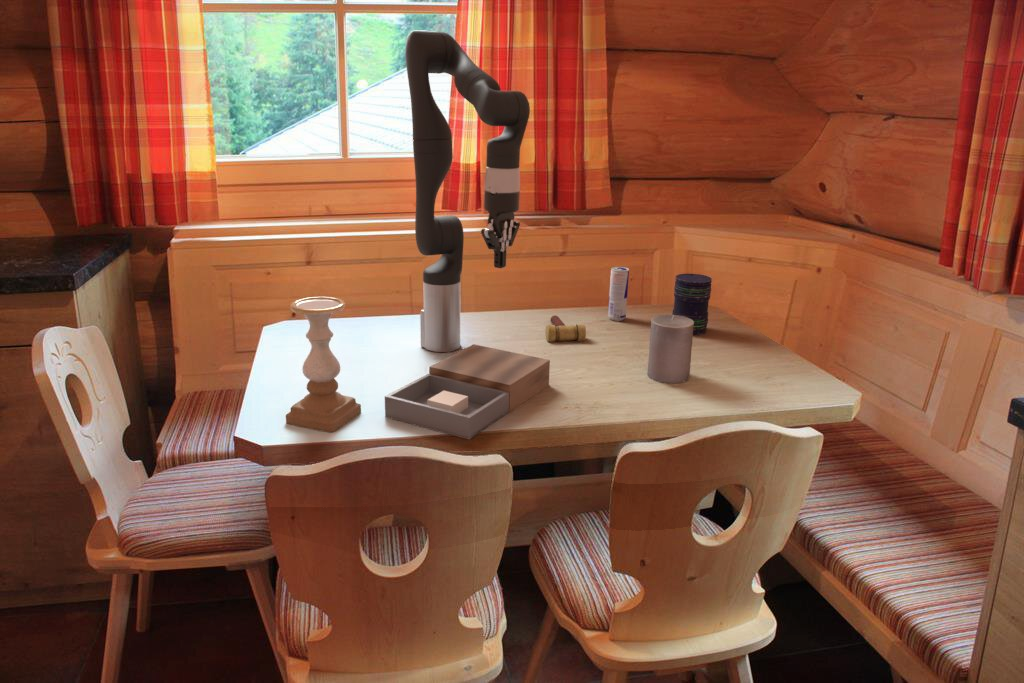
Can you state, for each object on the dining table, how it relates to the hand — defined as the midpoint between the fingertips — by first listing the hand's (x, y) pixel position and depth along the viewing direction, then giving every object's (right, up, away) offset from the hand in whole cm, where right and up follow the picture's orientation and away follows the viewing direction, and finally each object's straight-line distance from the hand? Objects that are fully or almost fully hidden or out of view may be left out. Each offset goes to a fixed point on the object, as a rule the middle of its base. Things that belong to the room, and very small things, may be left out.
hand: (499, 267), depth 177 cm
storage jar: (+52, -13, +45) cm, 70 cm away
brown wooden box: (-2, -27, 0) cm, 27 cm away
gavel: (+16, -14, +42) cm, 47 cm away
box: (-10, -31, -14) cm, 36 cm away
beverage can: (+33, -10, +54) cm, 64 cm away
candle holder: (-35, -32, -16) cm, 50 cm away
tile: (-10, -28, -13) cm, 33 cm away
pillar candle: (+39, -25, +10) cm, 47 cm away
